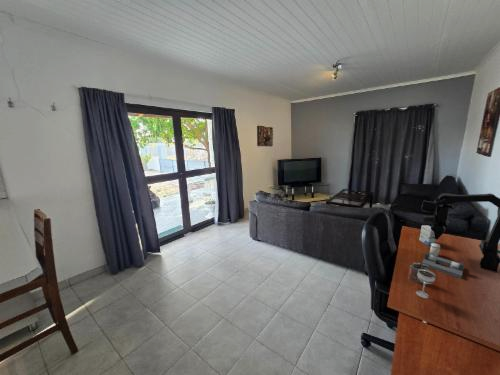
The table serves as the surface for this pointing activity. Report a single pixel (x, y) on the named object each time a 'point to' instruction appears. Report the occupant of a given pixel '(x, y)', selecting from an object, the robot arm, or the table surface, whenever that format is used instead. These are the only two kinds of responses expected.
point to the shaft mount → (454, 269)
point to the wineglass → (425, 280)
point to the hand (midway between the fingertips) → (437, 237)
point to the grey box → (416, 271)
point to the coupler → (434, 249)
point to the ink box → (427, 235)
